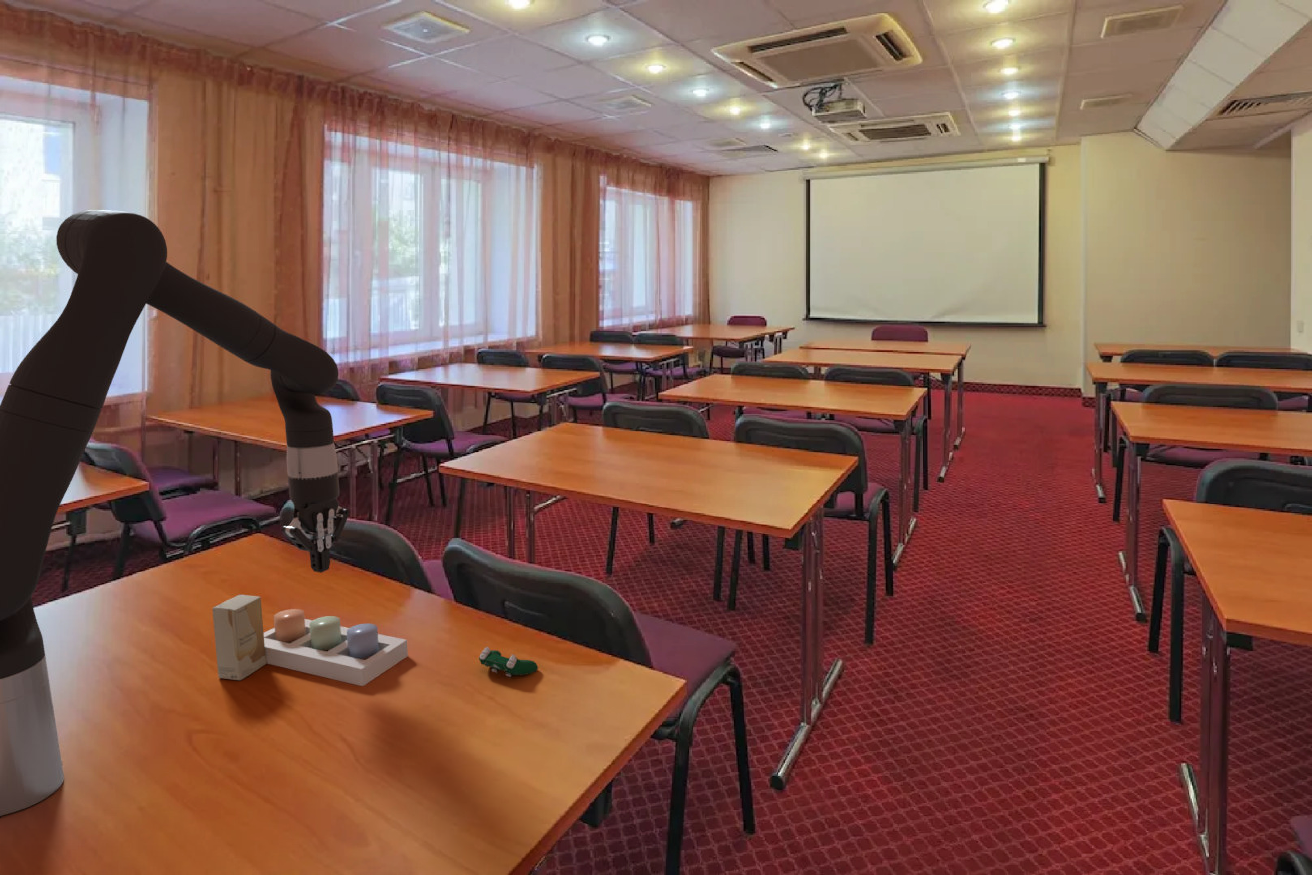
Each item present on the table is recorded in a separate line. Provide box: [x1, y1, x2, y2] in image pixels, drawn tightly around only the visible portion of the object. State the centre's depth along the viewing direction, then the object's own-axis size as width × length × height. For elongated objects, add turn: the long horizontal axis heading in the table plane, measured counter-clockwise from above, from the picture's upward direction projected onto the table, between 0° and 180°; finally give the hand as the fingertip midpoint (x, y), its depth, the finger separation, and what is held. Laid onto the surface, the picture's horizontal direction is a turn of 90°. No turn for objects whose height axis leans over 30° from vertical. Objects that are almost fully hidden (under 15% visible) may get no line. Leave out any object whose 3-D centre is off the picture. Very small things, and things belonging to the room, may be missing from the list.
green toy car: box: [478, 646, 539, 678], centre depth 125 cm, size 9×4×6 cm
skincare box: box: [212, 594, 267, 681], centre depth 123 cm, size 6×4×12 cm
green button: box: [309, 615, 342, 651], centre depth 128 cm, size 5×5×4 cm
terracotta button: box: [273, 608, 306, 643], centre depth 131 cm, size 5×5×4 cm
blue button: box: [347, 623, 379, 660], centre depth 126 cm, size 5×5×4 cm
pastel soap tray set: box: [263, 618, 409, 687], centre depth 129 cm, size 11×25×3 cm, turn 69°
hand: (321, 570), depth 126 cm, fingers closed
